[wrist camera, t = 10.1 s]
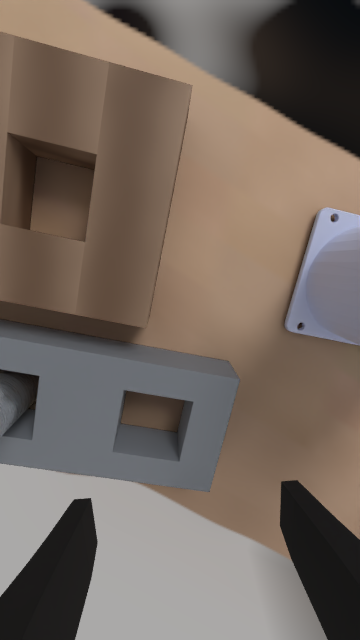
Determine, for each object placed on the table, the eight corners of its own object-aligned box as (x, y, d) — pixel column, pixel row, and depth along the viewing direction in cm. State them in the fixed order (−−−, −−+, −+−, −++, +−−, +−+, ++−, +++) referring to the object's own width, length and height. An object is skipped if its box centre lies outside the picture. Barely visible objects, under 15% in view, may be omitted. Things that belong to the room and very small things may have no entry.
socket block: (187, 117, 16) (192, 85, 13) (149, 317, 18) (146, 328, 15) (-31, 59, 15) (-80, 9, 12) (-41, 280, 17) (-84, 284, 14)
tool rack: (228, 361, 19) (240, 379, 16) (203, 459, 21) (209, 492, 18) (-43, 311, 17) (-85, 321, 14) (-48, 422, 19) (-86, 451, 16)
